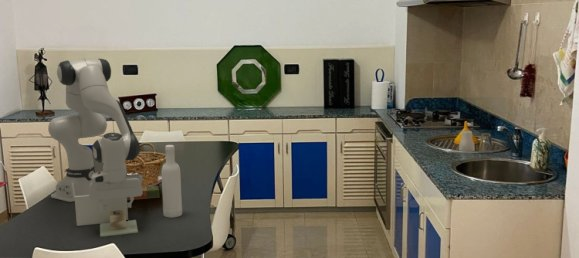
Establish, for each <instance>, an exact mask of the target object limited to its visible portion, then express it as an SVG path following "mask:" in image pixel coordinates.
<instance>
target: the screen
mask: <svg viewBox="0 0 579 258" xmlns="http://www.w3.org/2000/svg"><path fill="white" fill-rule="evenodd" d="M127 203H128V200H127V197H126V198H115V199H104V200H103V204H104V205H106V210H103V208H102V206H101V204H100V203H99V200H90V199H89V195H82V196H75V201H74V205H75V207H74V208H75V218H76V221H75V222H76V227H79V226H89V225H98V224H99V225H100V224H102V223H110V211H118V210H125V212H126V220H128V221H129V212H128V211H129V210H128V209H129V208H128V207H127Z"/></svg>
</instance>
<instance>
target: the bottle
mask: <svg viewBox="0 0 579 258" xmlns="http://www.w3.org/2000/svg"><path fill="white" fill-rule="evenodd" d="M175 150H176V148H175V145H173V144H166V145H165V146H164V151H165V163H163V165H162V168H161V171H160V172H161V186H162V187H161V189H162V190H161V191H162V192H161V193H162V212H163V216H164V217H166V218H172V219H173V218H178V217H180V216H182V215H183V201H182V199H183V197H182V181H181V180H182V179H181V178H182V176H181V167H180V165H179V164H178V163H177V162H176V159H175V158H176V156H175V154H176V153H175Z"/></svg>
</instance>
